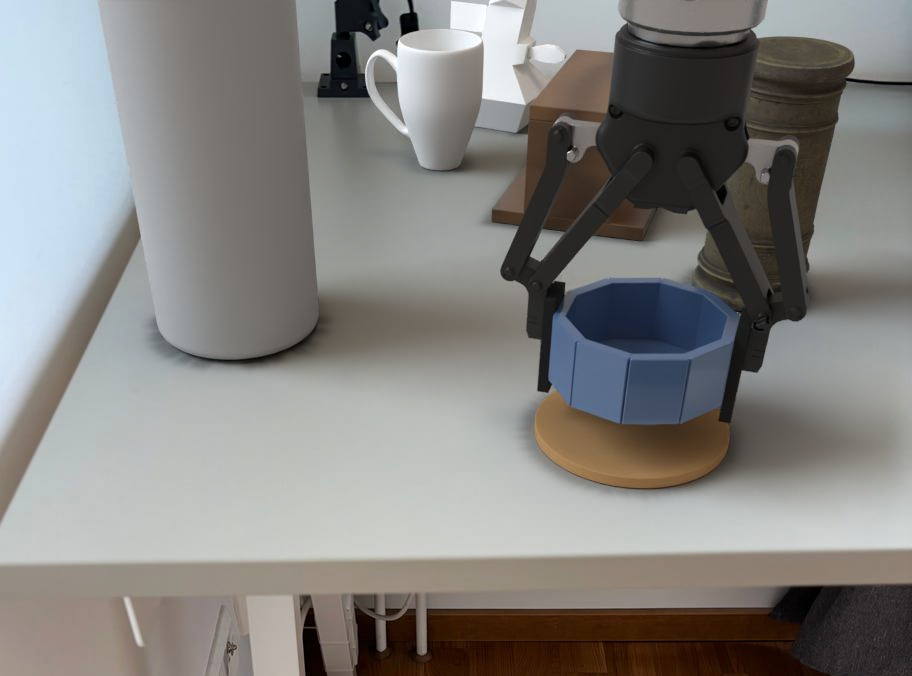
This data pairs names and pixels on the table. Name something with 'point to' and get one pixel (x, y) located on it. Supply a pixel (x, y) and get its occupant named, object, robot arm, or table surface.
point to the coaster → (629, 446)
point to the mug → (435, 92)
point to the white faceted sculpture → (506, 59)
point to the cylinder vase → (218, 169)
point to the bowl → (642, 350)
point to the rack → (587, 98)
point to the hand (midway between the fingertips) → (635, 397)
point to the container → (770, 118)
